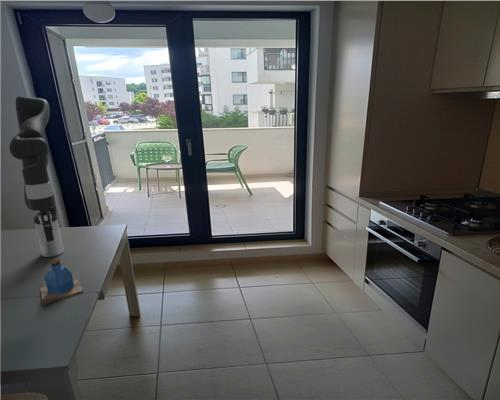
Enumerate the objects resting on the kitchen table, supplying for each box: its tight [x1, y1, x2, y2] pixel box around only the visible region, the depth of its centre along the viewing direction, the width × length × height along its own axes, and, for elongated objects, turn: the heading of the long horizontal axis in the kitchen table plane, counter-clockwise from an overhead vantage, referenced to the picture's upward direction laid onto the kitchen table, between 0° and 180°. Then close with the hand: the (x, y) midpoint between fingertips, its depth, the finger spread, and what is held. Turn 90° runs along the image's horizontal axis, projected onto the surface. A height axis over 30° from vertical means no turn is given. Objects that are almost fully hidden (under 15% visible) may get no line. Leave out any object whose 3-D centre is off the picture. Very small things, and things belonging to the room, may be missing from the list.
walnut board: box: [39, 276, 84, 306], centre depth 116 cm, size 13×13×1 cm
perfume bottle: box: [44, 259, 74, 295], centre depth 115 cm, size 6×6×12 cm
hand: (49, 237), depth 110 cm, fingers open, 8 cm apart
